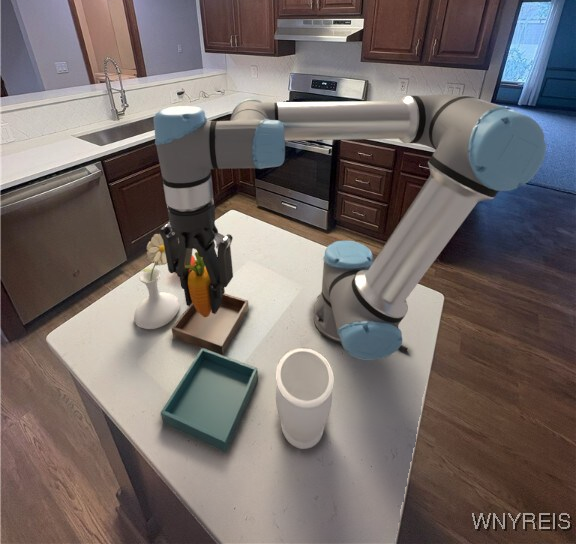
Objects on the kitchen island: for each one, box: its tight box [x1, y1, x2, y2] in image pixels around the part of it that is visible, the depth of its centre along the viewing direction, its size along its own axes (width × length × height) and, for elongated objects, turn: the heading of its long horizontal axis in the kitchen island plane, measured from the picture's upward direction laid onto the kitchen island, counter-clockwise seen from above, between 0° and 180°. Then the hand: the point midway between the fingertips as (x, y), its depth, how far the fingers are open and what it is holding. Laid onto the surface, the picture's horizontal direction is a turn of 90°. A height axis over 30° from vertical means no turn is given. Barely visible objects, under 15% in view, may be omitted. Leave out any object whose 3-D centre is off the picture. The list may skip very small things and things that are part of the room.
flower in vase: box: [133, 233, 180, 330], centre depth 81 cm, size 13×11×25 cm
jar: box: [275, 347, 335, 450], centre depth 59 cm, size 11×10×15 cm
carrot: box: [185, 251, 212, 317], centre depth 59 cm, size 5×5×15 cm
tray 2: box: [160, 348, 259, 453], centre depth 65 cm, size 14×14×3 cm
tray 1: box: [171, 293, 250, 356], centre depth 82 cm, size 14×14×3 cm
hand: (204, 304), depth 61 cm, fingers closed on carrot, 5 cm apart
